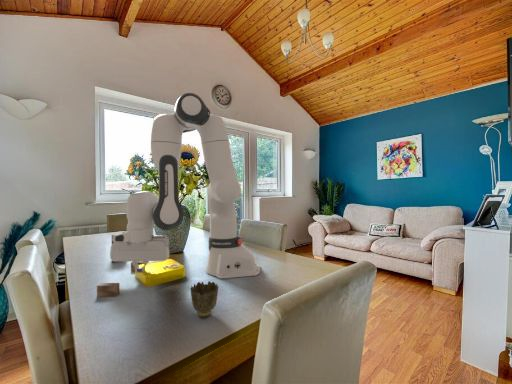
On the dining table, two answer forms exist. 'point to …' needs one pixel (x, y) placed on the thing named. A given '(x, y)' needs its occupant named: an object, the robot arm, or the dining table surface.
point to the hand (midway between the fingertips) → (140, 272)
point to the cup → (204, 298)
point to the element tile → (160, 272)
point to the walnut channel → (111, 286)
